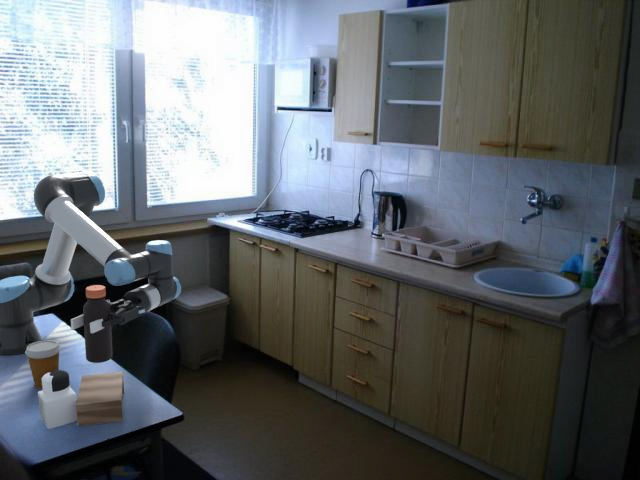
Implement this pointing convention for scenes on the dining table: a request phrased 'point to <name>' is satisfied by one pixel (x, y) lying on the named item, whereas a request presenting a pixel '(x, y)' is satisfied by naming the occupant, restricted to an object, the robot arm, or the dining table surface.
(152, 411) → the dining table surface
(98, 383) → the wooden block
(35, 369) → the disposable coffee cup
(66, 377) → the container
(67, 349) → the dining table surface
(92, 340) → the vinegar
